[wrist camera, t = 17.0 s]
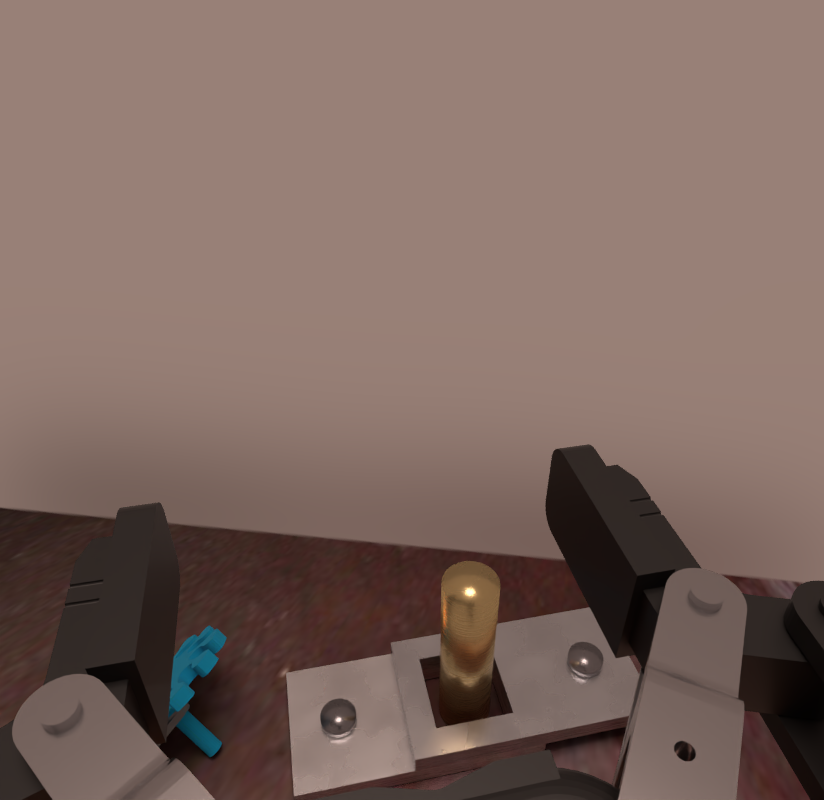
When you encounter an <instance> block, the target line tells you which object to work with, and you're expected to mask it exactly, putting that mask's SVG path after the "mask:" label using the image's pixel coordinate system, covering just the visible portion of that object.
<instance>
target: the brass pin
mask: <svg viewBox="0 0 824 800" xmlns="http://www.w3.org/2000/svg"><path fill="white" fill-rule="evenodd" d="M499 595H500V581H499V578H498V576H497V574H496V573H495V572H494V571H493V570H492V569H491V568H490V567H488V566H486V565H484V564H482V563H479V562H474V561H465V562H460V563H457V564H454V565H453V566H451V567H450V568H448V569H447V570H446V572H445V573H444V575H443V577H442V588H441V641H440V694H439V710H440V715H441V717H442V719H443V721H444V722H445V723H446V724H447V725H448V726H450V725H455V724H460V723H465V722H470V721H475V720H480V719H485V718H487V717H488V714H489V705H490V694H491V683H492V672H493V661H494V650H495V639H496V628H497V617H498V606H499Z"/></svg>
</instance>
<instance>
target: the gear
mask: <svg viewBox="0 0 824 800" xmlns="http://www.w3.org/2000/svg"><path fill="white" fill-rule="evenodd" d="M225 641H226V637H225V636H224V635H223V634H222V633H221V632H220V631H219V630H218V629H216V630H214V629H213V628H212V627H211V626H208V627H207V628H206V629H205V630H204V631H203V632H202V633H201V634H200V635H199V637H197V636H196V635H193V636H191V637H189V638H188V639H187V640H186V641H185V642H184V643H183V645H182V646H181V648H180V649H179V651H178V652H177V654H176V655H175V656H174V658H173V670H172V681H171V692H170V703H169V714H168V726H167V736H168V735H169V733H170V732H171V731H172V730H173V729H174V727H175V726H176V727H178V728H179V729H180V730H181V731H182V732H183V733H184V734H185V735H186V736H187V737H188V738H189V739H191V740H192V741H193V742H194V743H195V744H196V745H197V746H198V747H199V748H200V749H201V750H202V751H204V752H205V753H206V754H207V755H208V756H209V757H212V756H213V755H214V754H215V753H216V752H217V751H218V750H219V748H220V747H221V745H222V742H221V741H220V740H219V739H218V738H216V737H215V736H214V735H213V734H212V733H211V732H210V731H209V730H208V729H207V728H206V727H205V726H204V725H203V724H201V723H200V722H199V721H198V720H197V719H196V718H195V717H194V716H193V715H192V714H191V713H190V712H189V711H188V709H189V707H190V704H188V703H187V702H188V701H189V700H190V699H191V698H192V697H193V696H194V694H195V692H194V691H193V690H192V689H191V688H190V687H189V684H190V683H191V682H192V680H193V679H194V678H195V677H196V676H197V675H198V674H199V675H200V676H201V677H205V676H206V675H207V674H208V673H209V672H210V671H211V669H212V668H213V667H214V665H215V664H216V663H217V661H218V660H219V659H218V658H217V657H216V656H215V655H214V654H215V653H217V652H218V651H219V650H220V649H221V648H222V647H223V645H224V643H225ZM156 745H157V746H158V747H159V746H160V744H156Z"/></svg>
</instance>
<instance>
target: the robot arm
mask: <svg viewBox="0 0 824 800" xmlns="http://www.w3.org/2000/svg"><path fill="white" fill-rule="evenodd" d="M546 516H547V521H548V524H549V527H550V530H551V532H552V534H553V536H554V538H555V540H556V542H557V544H558V546H559V548H560V550H561V552H562V554H563V556H564V558H565V560H566V562H567V564H568V566H569V568H570V570H571V572H572V574H573V576H574V577H575V579H576V581H577V583H578V585H579V587H580V589H581V591H582V593H583V595H584V597H585V599H586V601H587V603H588V605H589V607H590V609H591V611H592V613H593V615H594V617H595V619H596V621H597V623H598V625H599V626H600V628H601V630H602V632H603V634H604V636H605V638H606V640H607V642H608V644H609V646H610V648H611V650H612V652H613V654H614V656H615V658H620V657H626V656H631V655H636V657H637V659H638V661H639V663H640V664H641V670H640V673H639V677H638V681H637V685H636V689H635V694H634V698H633V702H632V706H631V710H630V714H629V719H628V723H627V727H626V731H625V735H624V740H623V744H622V748H621V752H620V756H619V760H618V764H617V768H616V771H615V775H614V779H613V782H612V785H611V784H609V783H607V782H605V781H603V780H601V779H599V778H596V777H594V776H592V775H589V774H586V773H583V772H579V771H575V770H570V769H565V768H557V767H556V764H555V762H554V759H553V756H552V754H551V751H550V750H545V751H540V752H536V753H531V754H526V755H521V756H517V757H512V758H507V759H502V760H498V761H493V762H492V763H490V764H488V765H486V766H484V767H482V768H480V769H478V770H476V771H474V772H473V773H471V774H469V775H467V776H465V777H463V778H461V779H459V780H457V781H455V782H454V783H452V784H450V785H448V786H446V787H444V788H442V789H439V790H418V789H401V788H384V787H370V788H365V789H360V790H355V791H351V792H346V793H341V794H336V795H332V796H327V797H322V798H317V799H313V800H736V794H737V784H738V773H739V763H740V752H741V742H742V731H743V721H744V710H745V711H753V712H759V713H760V715H761V716H762V718H763V720H764V722H765V723H766V725H767V727H768V728H769V730H770V732H771V733H772V735H773V737H774V739H775V740H776V742H777V744H778V745H779V747H780V749H781V750H782V752H783V754H784V755H785V757H786V759H787V761H788V762H789V764H790V766H791V767H792V769H793V771H794V772H795V774H796V776H797V778H798V779H799V781H800V783H801V784H802V786H803V788H804V789H805V791H806V793H807V794H808V796H809V798H810V800H824V581H810V582H806V583H803V584H801V585H800V586H798V587H797V588H796V590H795V591H794V593H793V596H792V598H791V599H783V598H773V597H764V596H755V595H748V594H743V593H741V591H740V590H739V589H738V588H737V587H736V586H735V585H734V584H733V583H732V582H731V581H730V580H728V579H727V578H725V577H724V576H722V575H720V574H718V573H715V572H713V571H710V570H706V569H702V568H701V567H700V566H699V564H698V563H697V562H696V560H695V559H694V557H693V556H692V555H691V553H690V552H689V550H688V549H687V548H686V547H685V545H684V543H683V542H682V541H681V539H680V538H679V536H678V535H677V534H676V532H675V531H674V529H673V528H672V527H671V525H670V524H669V523H668V521H667V520H666V518H665V517H664V516H663V515H661V511H660V510H659V508H658V507H657V506H656V504H655V503H654V501H651V499H650V496H649V494H648V493H647V492H646V490H645V489H644V487H643V486H642V484H641V483H640V482H639V481H638V479H637V478H635V477H634V476H632V475H631V474H629V473H628V472H627V471H625V470H624V469H623V468H621V467H620V466H618V465H613V466H606V465H605V463H604V462H603V460H602V459H601V458H600V456H599V454H598V453H597V451H596V450H595V449H594V447H592V446H591V445H582V446H575V447H567V448H560V449H556V450H554V452H553V455H552V460H551V467H550V475H549V482H548V489H547V496H546ZM179 591H180V574H179V565H178V559H177V555H176V551H175V548H174V544H173V541H172V537H171V534H170V530H169V527H168V523H167V520H166V516H165V513H164V509H163V507H162V505H161V503H152V504H145V505H138V506H130V507H123V508H120V509H119V510H118V513H117V517H116V521H115V526H114V531H113V536H110V537H103V538H96V539H92V540H91V542H90V543H89V544H88V546H87V547H86V548H85V550H84V551H83V552H82V554H81V555H80V556H79V558H78V559H77V560H76V562H75V566H74V570H73V574H72V578H71V582H70V589H68V593H67V597H66V601H65V608H64V609H63V613H62V617H61V621H60V625H59V629H58V632H57V636H56V640H55V644H54V648H53V652H52V656H51V660H50V664H49V668H48V672H47V675H46V679H45V682H44V685H43V686H42V687H40V688H39V689H38V690H37V691H35V692H34V693H33V694H32V695H31V696H30V697H29V698H28V699H27V700H26V701H25V702H24V704H23V705H22V706H21V708H20V709H19V711H18V713H17V715H16V717H15V719H14V720H13V721H11V722H10V723H8V724H7V725H5V726H3V727H2V728H0V800H215V799H214V798H213V797H212V796H211V795H210V794H209V792H208V791H207V790H206V789H205V788H204V787H203V786H202V784H201V783H200V782H199V781H198V780H197V779H196V778H195V776H194V775H193V774H192V773H191V772H190V771H189V770H188V769H187V767H186V766H185V765H184V764H183V763H182V762H180V761H179V760H178V759H177V758H172V759H169V758H168V757H167V756H166V755H165V754H164V753H163V752H162V751H161V750H160V748H159V747H158V746H157V745H156V744H161V743H166V737H167V726H168V714H169V703H170V692H171V681H172V670H173V658H174V647H175V636H176V625H177V614H178V603H179Z"/></svg>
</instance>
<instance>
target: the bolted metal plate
mask: <svg viewBox="0 0 824 800" xmlns="http://www.w3.org/2000/svg"><path fill="white" fill-rule="evenodd" d="M440 641H441V634H437V635H432V636H426V637H421V638H415V639H409V640H404V641H398V642H393V643H391V654H388V655H383V656H377V657H372V658H366V659H360V660H355V661H349V662H344V663H338V664H333V665H327V666H322V667H316V668H311V669H305V670H300V671H294V672H289V673H286V676H287V692H288V708H289V724H290V740H291V756H292V772H293V788H294V799H295V800H313V799H317V798H322V797H327V796H332V795H336V794H341V793H346V792H351V791H355V790H360V789H365V788H370V787H384V788H387V787H392V786H397V785H401V784H406V783H411V782H416V781H420V780H425V779H430V778H434V777H439V776H444V775H449V774H453V773H458V772H463V771H467V770H472V769H477V768H482V767H484V766H486V765H488V764H490V763H492V762H493V761H498V760H502V759H507V758H512V757H517V756H521V755H526V754H531V753H536V752H540V751H545V746H546V743H551V742H556V741H561V740H566V739H570V738H575V737H580V736H585V735H589V734H594V733H599V732H604V731H609V730H613V729H618V728H623V727H627V723H628V719H629V714H630V710H631V706H632V702H633V698H634V694H635V689H636V685H637V681H638V677H639V674H638V672H637V670H636V668H635V666H634V664H633V663H632V661H631V659H630V657H629V656H626V657H620V658H615V656H614V654H613V652H612V650H611V648H610V646H609V644H608V642H607V640H606V638H605V636H604V634H603V632H602V630H601V628H600V626H599V625H598V623H597V621H596V619H595V617H594V615H593V613H592V611H591V609H590V607H589V608H584V609H578V610H572V611H567V612H561V613H555V614H550V615H544V616H539V617H533V618H527V619H522V620H516V621H511V622H505V623H499V624H497V628H496V639H495V650H494V661H493V672H492V680H493V683H494V686H495V689H496V692H497V695H498V698H499V701H500V704H501V707H502V710H503V713H504V715H500V716H495V717H490V718H485V719H480V720H475V721H470V722H465V723H460V724H455V725H450V726H445V727H440V728H436V726H435V722H434V717H433V713H432V709H431V705H430V701H429V697H428V693H427V689H426V685H425V681H424V680H428V679H433V678H438V677H440Z"/></svg>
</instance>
